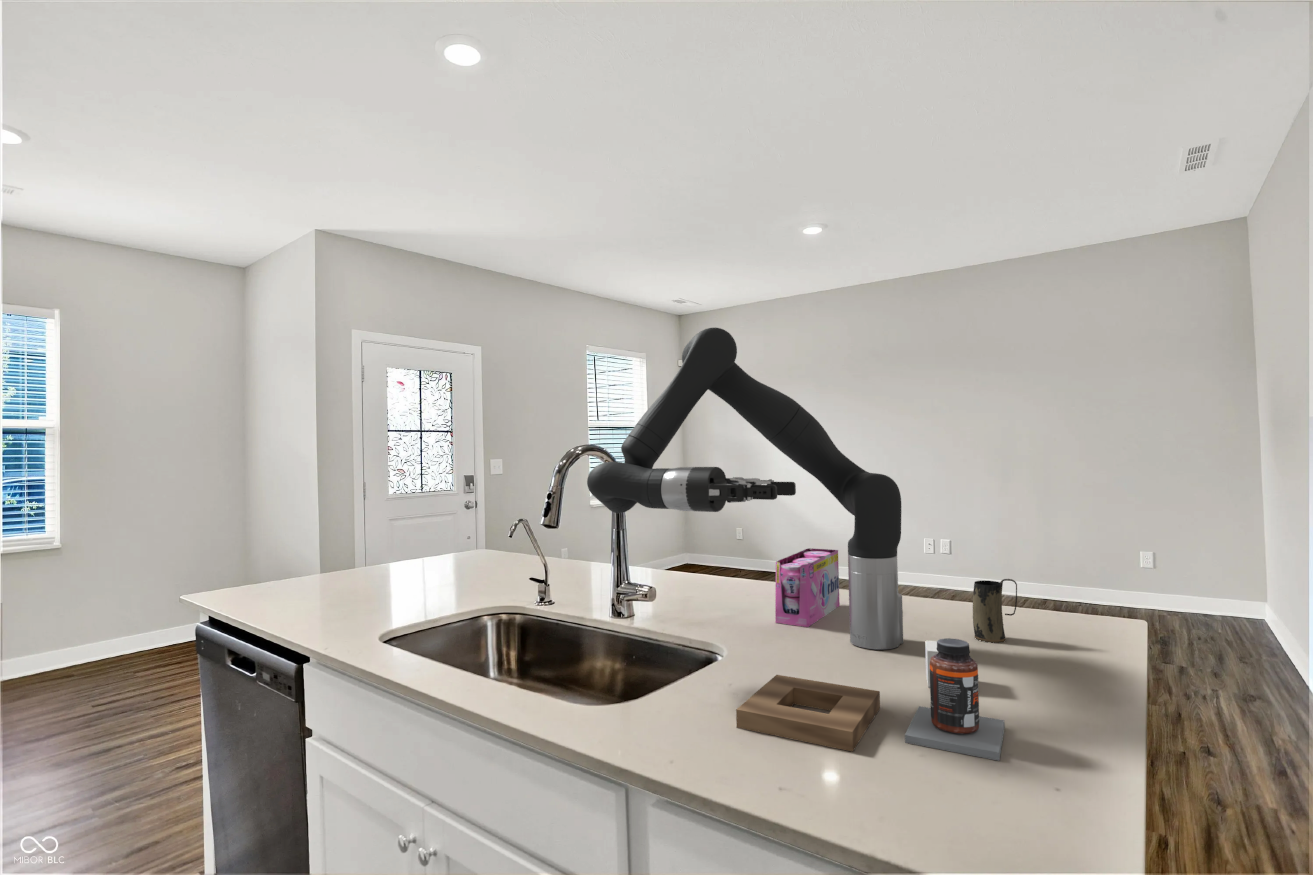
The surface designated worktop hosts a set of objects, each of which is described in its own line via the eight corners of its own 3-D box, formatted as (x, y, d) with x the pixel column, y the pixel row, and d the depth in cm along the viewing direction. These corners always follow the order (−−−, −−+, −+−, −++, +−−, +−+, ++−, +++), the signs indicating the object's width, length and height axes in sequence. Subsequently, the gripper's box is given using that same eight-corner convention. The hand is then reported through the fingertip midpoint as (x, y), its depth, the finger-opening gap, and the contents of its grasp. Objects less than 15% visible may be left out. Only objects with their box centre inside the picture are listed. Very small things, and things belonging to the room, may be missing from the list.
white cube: (928, 688, 107) (927, 650, 107) (925, 676, 113) (924, 640, 113) (969, 692, 105) (968, 653, 105) (965, 679, 111) (964, 642, 111)
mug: (972, 640, 132) (970, 579, 132) (974, 633, 137) (972, 574, 137) (1018, 645, 128) (1016, 582, 128) (1018, 638, 133) (1016, 577, 133)
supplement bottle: (985, 737, 87) (982, 649, 87) (936, 734, 88) (933, 647, 88) (973, 719, 92) (971, 636, 93) (927, 716, 94) (925, 634, 94)
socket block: (776, 690, 108) (776, 674, 108) (880, 708, 99) (879, 691, 100) (736, 727, 94) (736, 709, 94) (852, 751, 86) (852, 731, 86)
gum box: (807, 629, 143) (805, 565, 143) (772, 625, 147) (770, 562, 147) (840, 605, 163) (839, 549, 163) (808, 602, 167) (807, 547, 167)
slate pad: (919, 712, 97) (919, 705, 97) (1004, 727, 92) (1004, 720, 92) (905, 742, 88) (904, 734, 88) (999, 760, 82) (999, 752, 82)
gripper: (673, 468, 108) (769, 468, 100) (712, 465, 120) (800, 465, 112) (674, 515, 108) (770, 519, 100) (712, 507, 120) (801, 510, 112)
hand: (786, 490), depth 106 cm, fingers open, 8 cm apart
